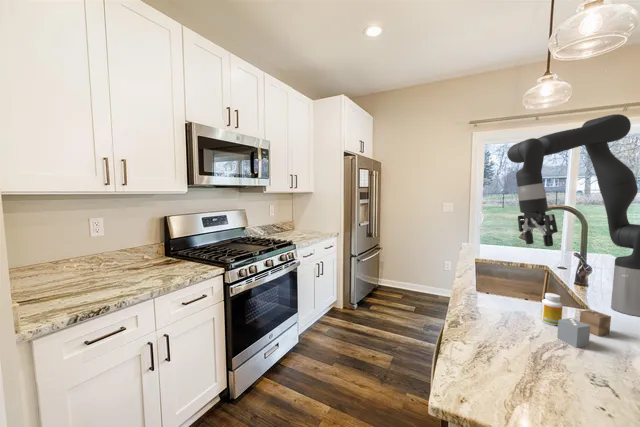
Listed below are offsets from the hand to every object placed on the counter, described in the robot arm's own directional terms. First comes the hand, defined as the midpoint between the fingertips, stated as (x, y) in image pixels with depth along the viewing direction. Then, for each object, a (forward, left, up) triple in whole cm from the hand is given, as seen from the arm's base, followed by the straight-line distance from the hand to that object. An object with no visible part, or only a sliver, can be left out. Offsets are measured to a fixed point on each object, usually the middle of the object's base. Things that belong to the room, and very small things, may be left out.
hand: (538, 245), depth 92 cm
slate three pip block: (+3, +13, -27) cm, 30 cm away
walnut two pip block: (-11, +10, -27) cm, 31 cm away
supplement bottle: (-4, +2, -27) cm, 27 cm away
